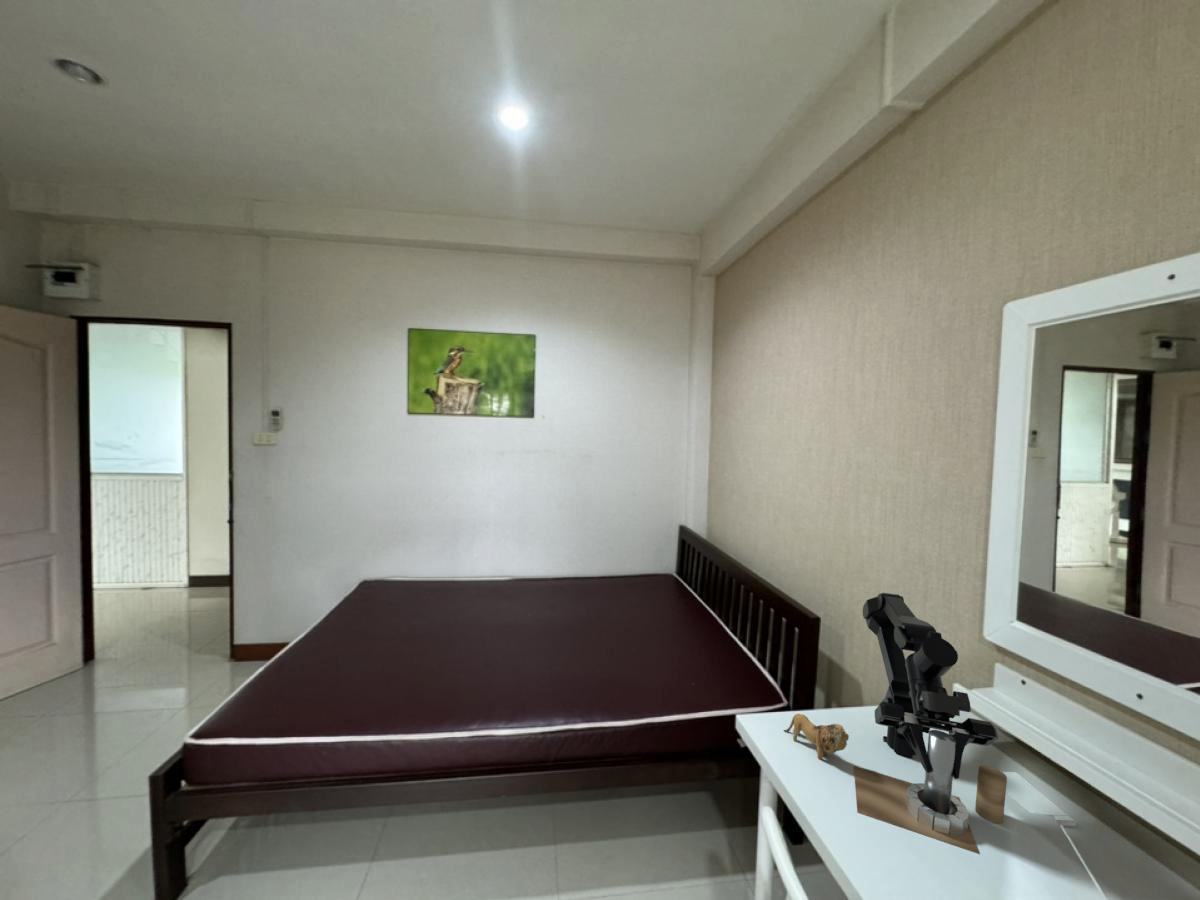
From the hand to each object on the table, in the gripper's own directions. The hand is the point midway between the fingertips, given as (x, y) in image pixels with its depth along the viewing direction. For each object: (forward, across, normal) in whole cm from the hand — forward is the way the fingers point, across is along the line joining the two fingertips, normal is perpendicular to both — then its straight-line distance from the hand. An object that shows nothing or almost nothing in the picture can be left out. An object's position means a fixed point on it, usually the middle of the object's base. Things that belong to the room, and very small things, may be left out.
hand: (942, 775), depth 86 cm
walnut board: (+5, -4, +8) cm, 10 cm away
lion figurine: (-2, -19, +16) cm, 25 cm away
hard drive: (-3, +19, +17) cm, 26 cm away
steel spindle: (+4, 0, +6) cm, 7 cm away
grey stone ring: (+5, 0, +7) cm, 8 cm away
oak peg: (+3, +10, +10) cm, 14 cm away
